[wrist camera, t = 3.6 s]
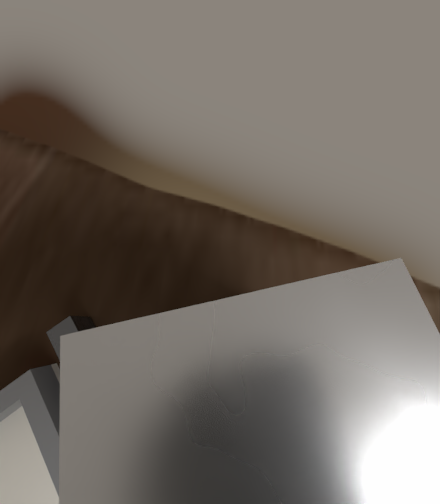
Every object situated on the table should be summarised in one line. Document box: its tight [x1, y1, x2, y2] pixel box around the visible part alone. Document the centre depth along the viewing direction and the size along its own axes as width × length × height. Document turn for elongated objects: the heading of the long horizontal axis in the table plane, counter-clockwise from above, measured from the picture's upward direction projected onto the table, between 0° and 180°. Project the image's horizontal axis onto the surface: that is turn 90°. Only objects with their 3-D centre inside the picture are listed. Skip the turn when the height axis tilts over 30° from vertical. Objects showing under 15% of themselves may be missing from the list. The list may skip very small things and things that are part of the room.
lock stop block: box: [59, 258, 440, 504], centre depth 8 cm, size 5×5×12 cm
